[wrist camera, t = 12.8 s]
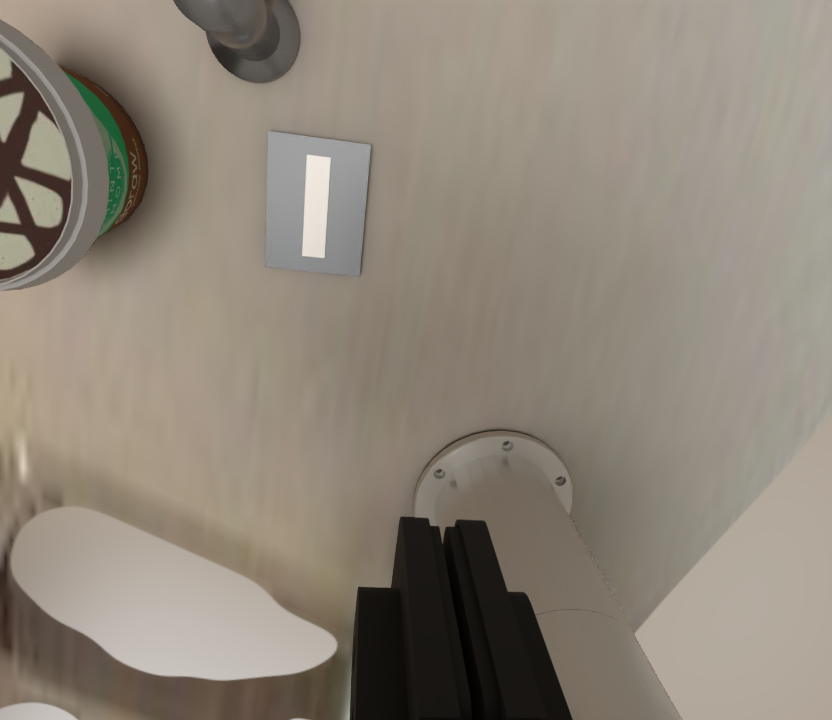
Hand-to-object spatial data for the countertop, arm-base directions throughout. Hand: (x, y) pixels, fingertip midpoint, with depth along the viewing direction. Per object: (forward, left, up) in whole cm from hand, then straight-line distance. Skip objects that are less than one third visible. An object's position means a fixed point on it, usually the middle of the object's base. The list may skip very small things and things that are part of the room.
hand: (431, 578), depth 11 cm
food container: (+5, +17, -27) cm, 32 cm away
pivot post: (+13, +9, -27) cm, 31 cm away
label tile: (+4, +5, -27) cm, 28 cm away
